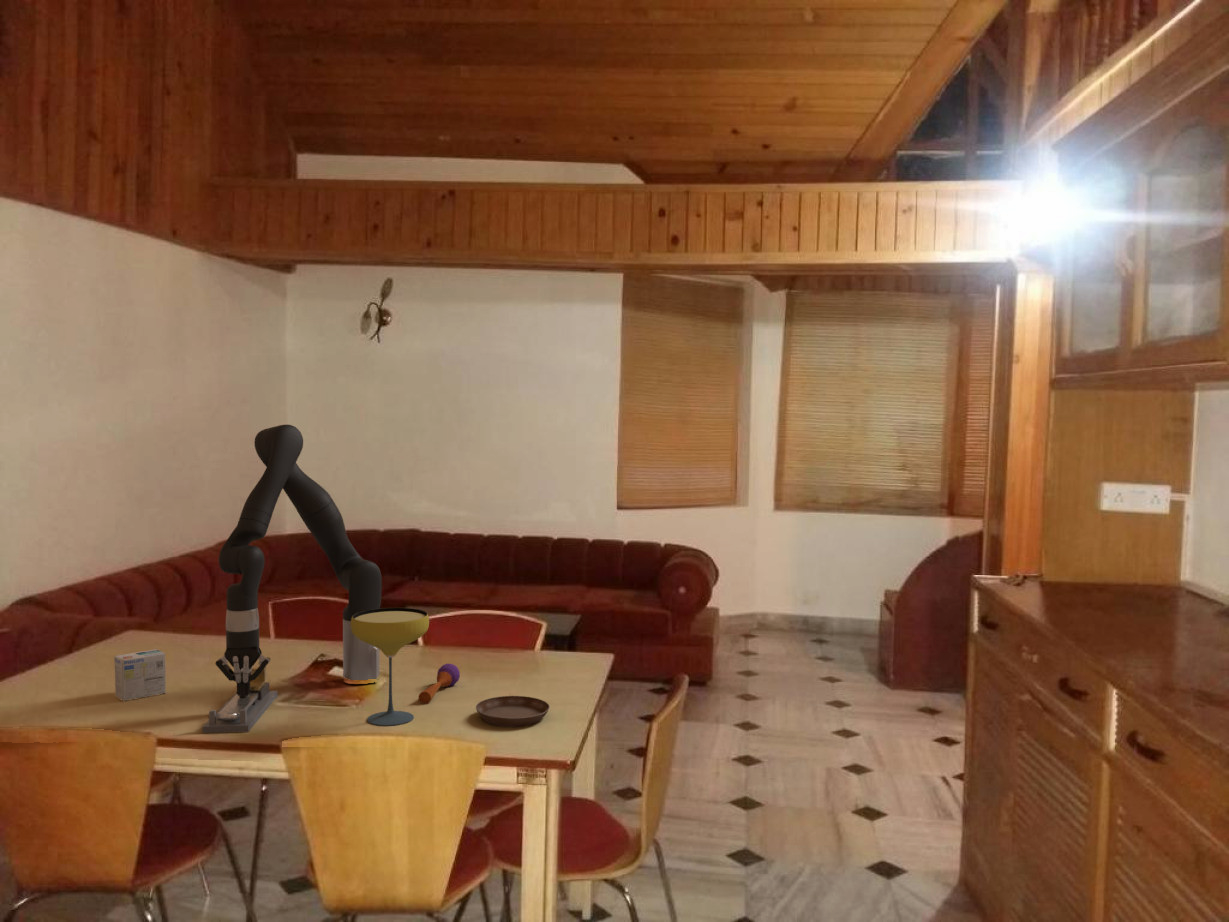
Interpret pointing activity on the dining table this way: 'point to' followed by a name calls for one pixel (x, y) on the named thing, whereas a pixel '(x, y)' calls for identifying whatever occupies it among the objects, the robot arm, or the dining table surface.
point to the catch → (258, 680)
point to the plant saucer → (512, 710)
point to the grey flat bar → (236, 707)
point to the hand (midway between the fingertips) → (243, 696)
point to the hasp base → (242, 714)
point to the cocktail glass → (390, 645)
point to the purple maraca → (441, 682)
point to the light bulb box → (140, 674)
